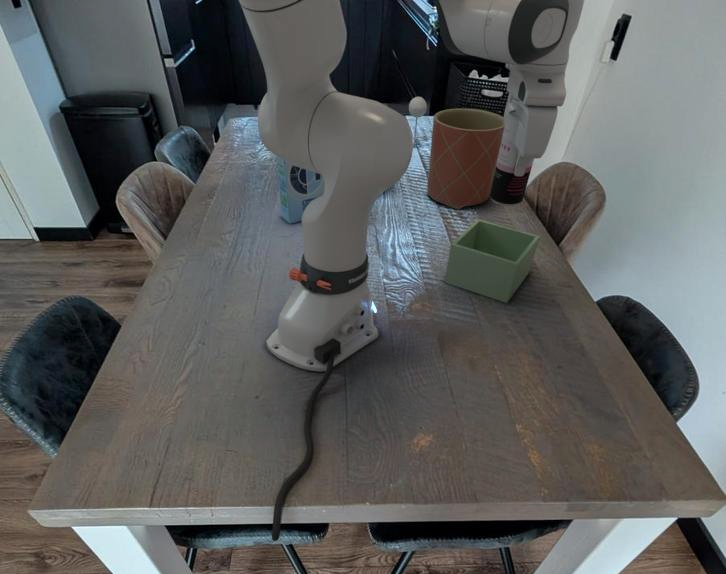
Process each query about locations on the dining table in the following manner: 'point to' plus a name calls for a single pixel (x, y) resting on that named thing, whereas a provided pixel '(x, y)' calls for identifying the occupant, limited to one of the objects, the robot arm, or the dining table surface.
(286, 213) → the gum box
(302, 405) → the dining table surface
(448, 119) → the planter
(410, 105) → the lollipop
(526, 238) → the basket
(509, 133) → the beverage can
